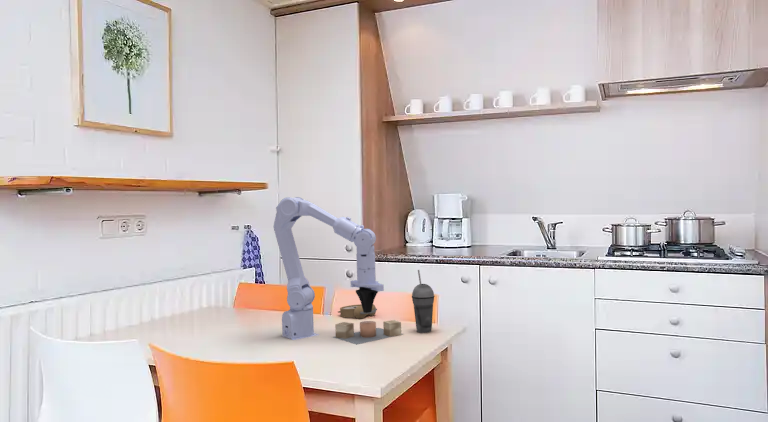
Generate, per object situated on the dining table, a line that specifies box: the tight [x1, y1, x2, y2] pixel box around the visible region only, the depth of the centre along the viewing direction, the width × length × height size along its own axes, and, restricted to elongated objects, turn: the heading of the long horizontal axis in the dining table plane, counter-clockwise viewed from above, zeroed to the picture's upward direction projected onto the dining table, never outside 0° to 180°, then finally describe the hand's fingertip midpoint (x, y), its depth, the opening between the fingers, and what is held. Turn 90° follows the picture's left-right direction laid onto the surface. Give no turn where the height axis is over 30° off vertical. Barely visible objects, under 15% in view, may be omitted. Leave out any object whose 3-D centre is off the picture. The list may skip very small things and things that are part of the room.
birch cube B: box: [383, 319, 402, 338], centre depth 183 cm, size 4×4×4 cm
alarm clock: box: [337, 303, 378, 320], centre depth 217 cm, size 11×5×15 cm
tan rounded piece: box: [359, 320, 377, 338], centre depth 183 cm, size 5×5×4 cm
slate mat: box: [332, 327, 404, 345], centre depth 183 cm, size 18×13×1 cm
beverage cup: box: [411, 269, 436, 334], centre depth 186 cm, size 7×7×20 cm
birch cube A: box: [334, 321, 355, 339], centre depth 182 cm, size 4×4×4 cm
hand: (367, 312), depth 183 cm, fingers closed
